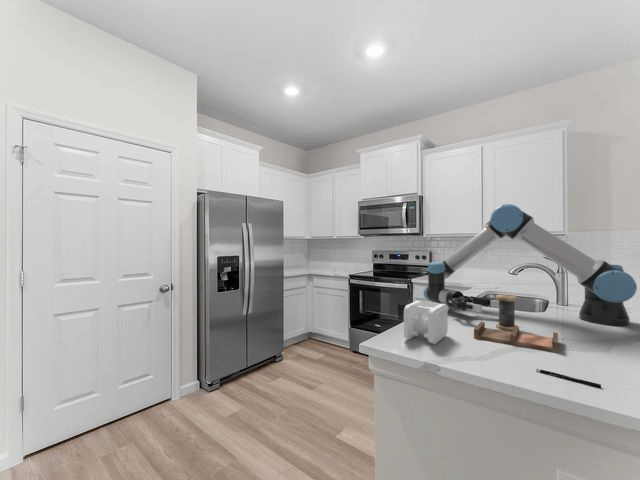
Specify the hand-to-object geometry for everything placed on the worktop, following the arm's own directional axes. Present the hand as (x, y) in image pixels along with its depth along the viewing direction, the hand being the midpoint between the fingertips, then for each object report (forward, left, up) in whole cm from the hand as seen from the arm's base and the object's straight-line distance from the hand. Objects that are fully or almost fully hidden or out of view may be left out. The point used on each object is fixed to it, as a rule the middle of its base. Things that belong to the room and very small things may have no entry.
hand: (493, 307), depth 120 cm
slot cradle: (-9, +16, -7) cm, 20 cm away
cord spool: (-5, +2, -7) cm, 9 cm away
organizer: (+15, +32, -7) cm, 36 cm away
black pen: (-22, +42, -7) cm, 48 cm away
